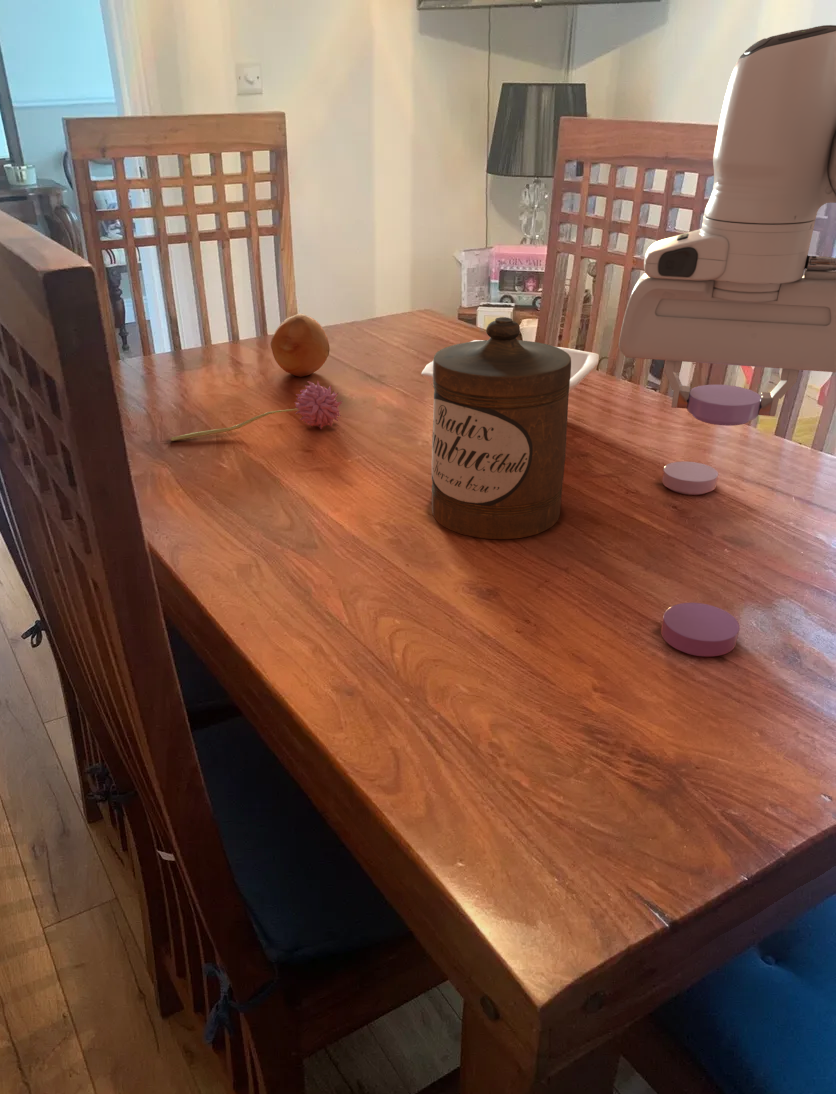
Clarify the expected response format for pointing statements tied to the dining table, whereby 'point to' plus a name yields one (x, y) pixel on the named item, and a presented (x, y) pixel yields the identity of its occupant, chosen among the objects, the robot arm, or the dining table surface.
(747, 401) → the lavender disc
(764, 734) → the dining table surface
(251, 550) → the dining table surface
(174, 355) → the dining table surface
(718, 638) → the mauve disc
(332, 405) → the artificial flower
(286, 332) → the onion
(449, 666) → the dining table surface
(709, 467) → the pale pink disc
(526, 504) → the wooden container
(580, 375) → the bowl
